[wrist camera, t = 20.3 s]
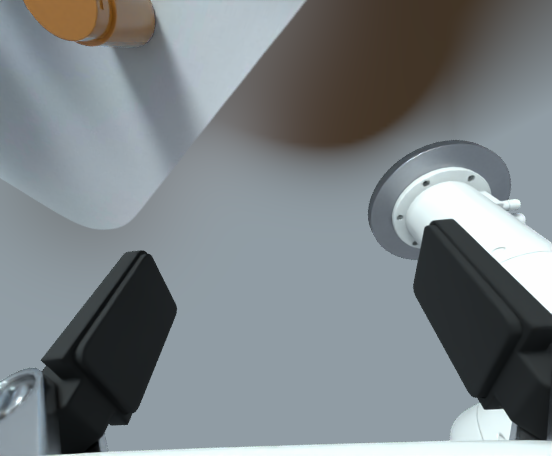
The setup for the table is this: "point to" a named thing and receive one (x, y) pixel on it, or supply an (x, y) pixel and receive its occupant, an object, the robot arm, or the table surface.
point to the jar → (97, 21)
